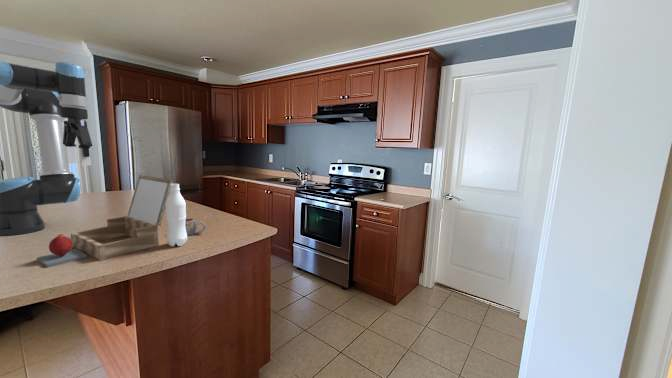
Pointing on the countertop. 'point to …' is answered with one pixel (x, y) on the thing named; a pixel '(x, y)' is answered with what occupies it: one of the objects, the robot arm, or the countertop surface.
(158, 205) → the lid
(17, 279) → the countertop surface
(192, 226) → the mug
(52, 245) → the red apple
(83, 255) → the slate mat
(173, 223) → the water bottle
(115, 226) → the box
